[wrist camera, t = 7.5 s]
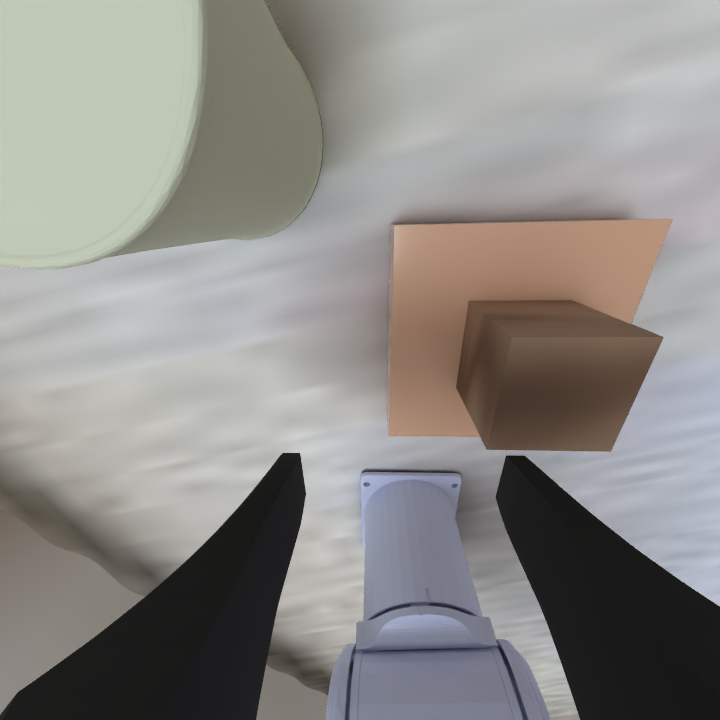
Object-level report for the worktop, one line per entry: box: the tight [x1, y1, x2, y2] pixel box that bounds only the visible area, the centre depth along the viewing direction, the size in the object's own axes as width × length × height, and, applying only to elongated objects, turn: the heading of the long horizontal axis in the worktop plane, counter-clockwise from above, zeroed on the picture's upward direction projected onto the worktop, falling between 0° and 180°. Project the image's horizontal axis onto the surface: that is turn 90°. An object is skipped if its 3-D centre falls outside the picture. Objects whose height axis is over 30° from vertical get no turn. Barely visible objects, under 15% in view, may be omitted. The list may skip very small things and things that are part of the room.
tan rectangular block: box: [387, 219, 672, 437], centre depth 17 cm, size 12×12×3 cm
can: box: [0, 0, 323, 269], centre depth 9 cm, size 9×9×12 cm
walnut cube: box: [456, 300, 663, 451], centre depth 13 cm, size 5×5×5 cm
